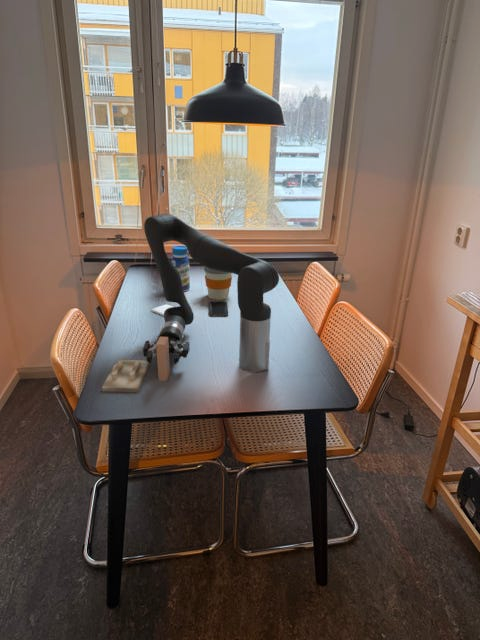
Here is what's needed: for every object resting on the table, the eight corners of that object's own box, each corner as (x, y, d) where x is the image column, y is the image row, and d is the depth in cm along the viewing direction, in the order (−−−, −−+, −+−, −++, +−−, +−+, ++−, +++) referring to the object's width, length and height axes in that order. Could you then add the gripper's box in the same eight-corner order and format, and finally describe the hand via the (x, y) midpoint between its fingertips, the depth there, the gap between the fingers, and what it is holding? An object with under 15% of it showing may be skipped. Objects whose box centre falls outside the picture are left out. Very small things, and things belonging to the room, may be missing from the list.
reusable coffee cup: (207, 302, 185) (207, 268, 179) (202, 292, 196) (201, 260, 190) (235, 299, 188) (236, 267, 182) (228, 290, 199) (228, 259, 193)
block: (161, 371, 131) (159, 336, 126) (169, 372, 131) (168, 336, 126) (158, 380, 126) (156, 344, 121) (167, 380, 126) (165, 344, 121)
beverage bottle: (188, 285, 205) (187, 244, 197) (191, 291, 197) (190, 248, 189) (170, 286, 202) (168, 245, 194) (173, 292, 195) (172, 250, 187)
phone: (208, 315, 170) (209, 301, 184) (208, 317, 171) (209, 303, 184) (228, 314, 171) (227, 301, 184) (228, 317, 171) (227, 303, 185)
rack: (117, 363, 135) (116, 354, 133) (149, 364, 135) (148, 355, 133) (102, 391, 120) (100, 381, 119) (137, 392, 120) (136, 382, 119)
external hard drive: (166, 307, 180) (187, 315, 173) (151, 312, 174) (172, 321, 167) (166, 303, 180) (187, 311, 172) (151, 309, 174) (172, 317, 167)
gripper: (148, 324, 137) (136, 348, 122) (192, 326, 137) (186, 350, 122) (149, 345, 140) (138, 371, 125) (193, 346, 140) (186, 372, 125)
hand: (161, 360), depth 124 cm, fingers open, 7 cm apart
